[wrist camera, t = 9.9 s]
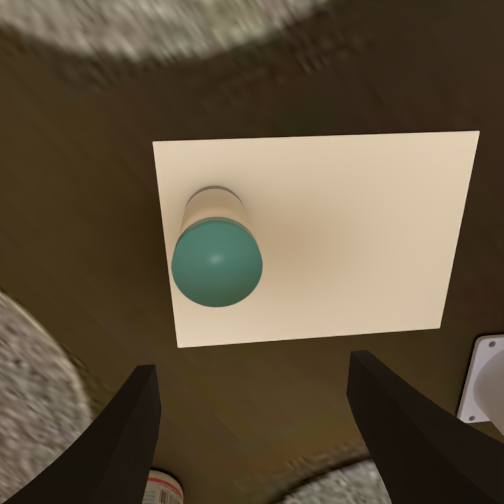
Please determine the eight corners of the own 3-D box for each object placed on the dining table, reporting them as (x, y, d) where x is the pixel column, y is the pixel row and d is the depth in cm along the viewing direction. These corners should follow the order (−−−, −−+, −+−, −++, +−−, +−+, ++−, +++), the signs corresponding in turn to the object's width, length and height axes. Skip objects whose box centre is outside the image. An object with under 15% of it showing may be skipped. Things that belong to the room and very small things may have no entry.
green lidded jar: (245, 184, 20) (264, 224, 13) (245, 243, 21) (261, 305, 15) (182, 184, 20) (168, 225, 13) (185, 244, 21) (174, 309, 14)
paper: (476, 130, 20) (479, 131, 20) (437, 325, 25) (439, 328, 25) (153, 141, 19) (152, 141, 19) (178, 344, 24) (177, 347, 24)
